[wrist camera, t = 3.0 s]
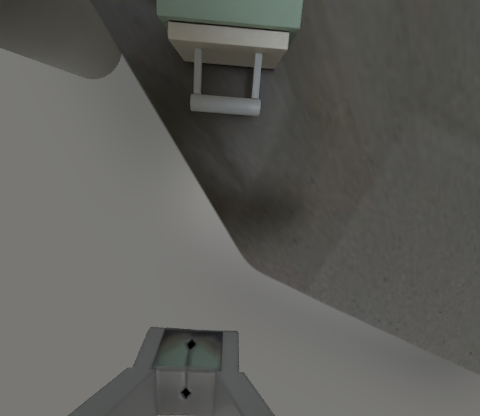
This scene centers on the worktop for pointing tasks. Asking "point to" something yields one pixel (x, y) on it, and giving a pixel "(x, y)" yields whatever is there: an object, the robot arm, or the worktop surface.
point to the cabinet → (235, 13)
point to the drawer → (227, 59)
